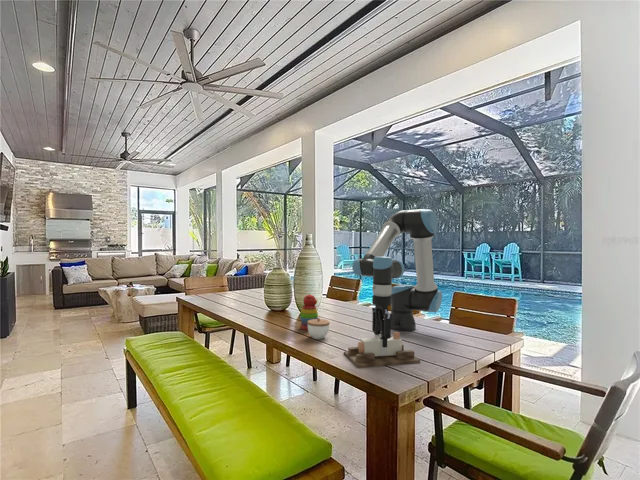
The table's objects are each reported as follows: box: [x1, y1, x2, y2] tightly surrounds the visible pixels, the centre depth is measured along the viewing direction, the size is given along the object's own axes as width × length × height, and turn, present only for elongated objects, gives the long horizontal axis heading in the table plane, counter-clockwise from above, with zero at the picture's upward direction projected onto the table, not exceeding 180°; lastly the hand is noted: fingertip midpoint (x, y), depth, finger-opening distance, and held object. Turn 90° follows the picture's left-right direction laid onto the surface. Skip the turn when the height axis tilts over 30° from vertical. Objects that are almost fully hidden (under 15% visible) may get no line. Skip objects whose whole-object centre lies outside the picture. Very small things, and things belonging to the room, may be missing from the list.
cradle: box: [343, 344, 421, 369], centre depth 141 cm, size 26×16×4 cm, turn 105°
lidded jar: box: [307, 317, 331, 340], centre depth 169 cm, size 11×11×9 cm
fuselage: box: [357, 331, 403, 356], centre depth 140 cm, size 17×4×8 cm, turn 105°
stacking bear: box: [299, 293, 319, 331], centre depth 186 cm, size 11×10×18 cm
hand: (380, 352), depth 141 cm, fingers closed on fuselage, 4 cm apart
